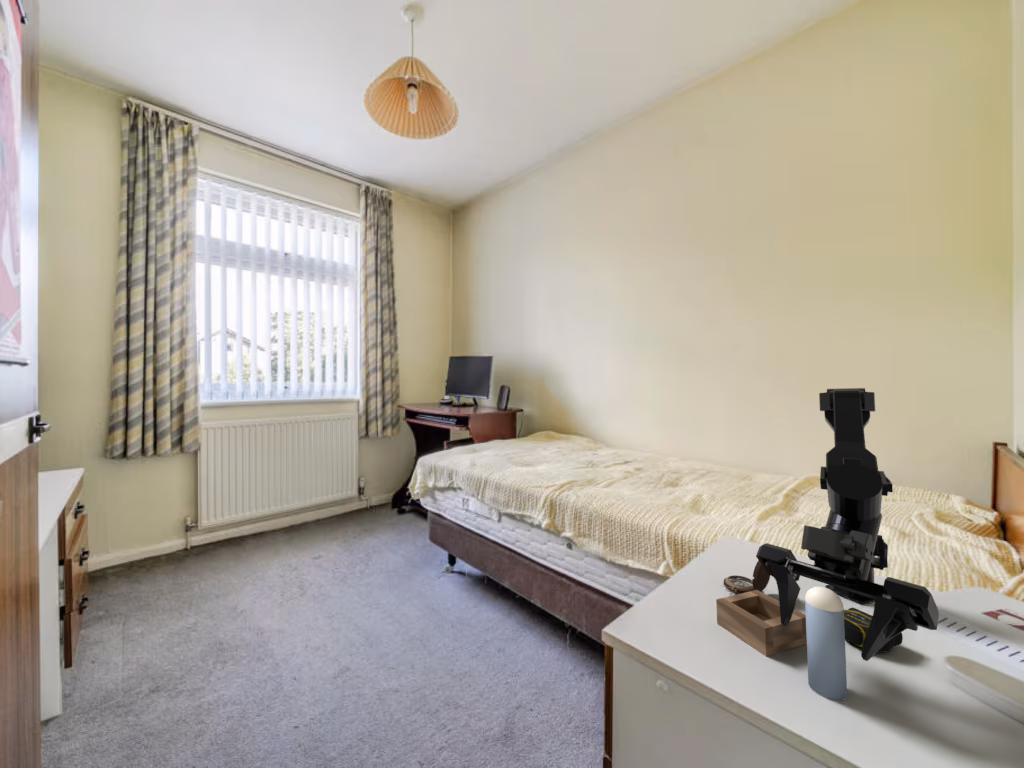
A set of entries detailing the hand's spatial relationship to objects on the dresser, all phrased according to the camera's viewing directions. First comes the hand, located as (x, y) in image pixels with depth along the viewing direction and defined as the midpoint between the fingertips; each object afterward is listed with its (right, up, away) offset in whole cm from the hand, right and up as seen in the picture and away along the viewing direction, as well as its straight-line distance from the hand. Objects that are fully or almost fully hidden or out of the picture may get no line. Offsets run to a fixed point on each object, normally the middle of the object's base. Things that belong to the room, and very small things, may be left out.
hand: (821, 640), depth 52 cm
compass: (+5, -7, +27) cm, 28 cm away
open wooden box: (0, -7, +13) cm, 15 cm away
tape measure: (+15, -7, +11) cm, 19 cm away
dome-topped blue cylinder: (+1, -7, +1) cm, 7 cm away
